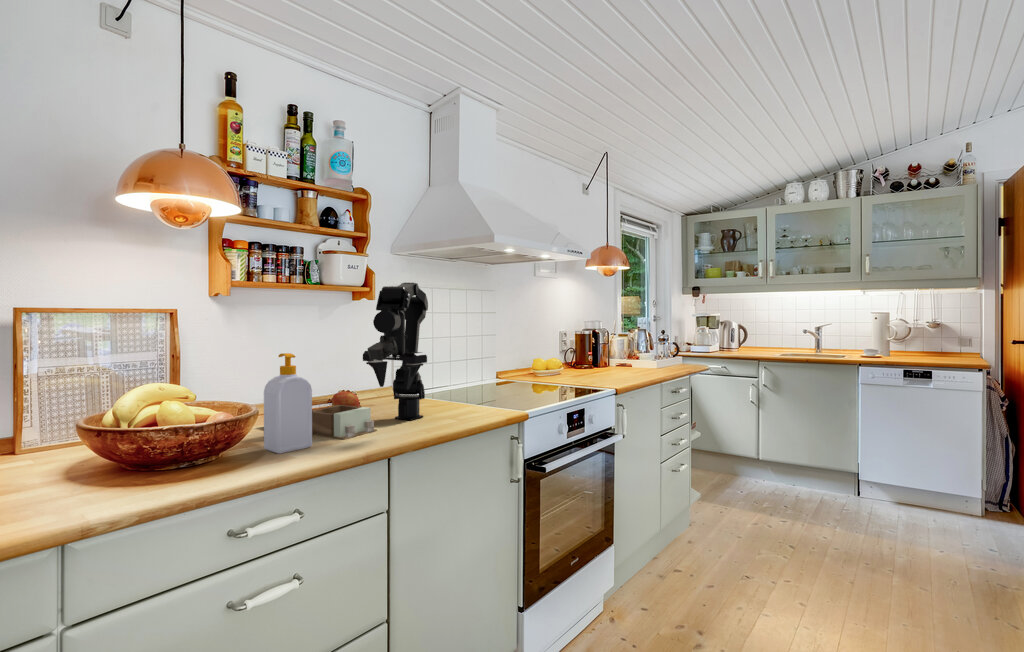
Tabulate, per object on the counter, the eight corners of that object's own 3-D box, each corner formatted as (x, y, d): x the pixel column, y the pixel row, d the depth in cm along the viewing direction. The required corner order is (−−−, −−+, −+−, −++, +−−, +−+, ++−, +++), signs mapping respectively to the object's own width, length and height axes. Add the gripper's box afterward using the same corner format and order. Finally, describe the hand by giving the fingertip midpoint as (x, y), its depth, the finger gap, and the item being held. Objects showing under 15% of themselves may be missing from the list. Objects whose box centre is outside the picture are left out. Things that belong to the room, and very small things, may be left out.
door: (364, 428, 149) (364, 407, 149) (370, 429, 148) (370, 407, 148) (333, 436, 140) (333, 413, 139) (340, 437, 138) (340, 414, 138)
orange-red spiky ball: (332, 414, 170) (331, 390, 170) (359, 413, 172) (359, 389, 172) (330, 419, 162) (330, 393, 162) (359, 418, 165) (359, 392, 164)
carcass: (340, 425, 154) (340, 404, 154) (377, 430, 148) (377, 409, 148) (307, 433, 144) (307, 411, 144) (344, 439, 137) (344, 416, 137)
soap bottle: (297, 442, 134) (297, 351, 133) (312, 446, 130) (312, 353, 129) (262, 449, 127) (261, 353, 126) (276, 454, 123) (276, 355, 122)
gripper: (347, 331, 144) (348, 389, 144) (401, 333, 135) (401, 394, 135) (376, 330, 154) (376, 384, 154) (428, 332, 145) (428, 389, 145)
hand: (394, 388), depth 147 cm, fingers open, 9 cm apart
